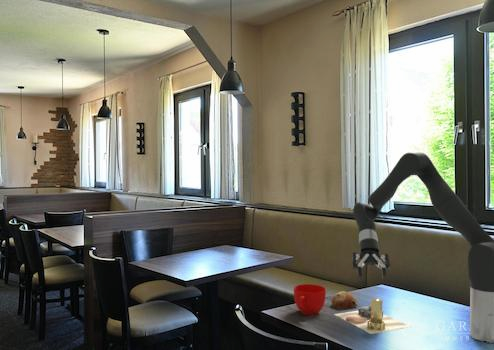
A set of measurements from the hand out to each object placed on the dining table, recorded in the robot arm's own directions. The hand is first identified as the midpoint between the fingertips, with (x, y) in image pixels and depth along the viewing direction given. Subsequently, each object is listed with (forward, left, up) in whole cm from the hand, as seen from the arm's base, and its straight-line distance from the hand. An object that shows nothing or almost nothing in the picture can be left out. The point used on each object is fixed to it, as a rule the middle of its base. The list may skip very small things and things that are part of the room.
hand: (372, 277), depth 169 cm
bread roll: (+19, -1, -17) cm, 25 cm away
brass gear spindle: (-10, +6, -15) cm, 19 cm away
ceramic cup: (+16, +19, -17) cm, 30 cm away
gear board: (-3, +3, -17) cm, 17 cm away
